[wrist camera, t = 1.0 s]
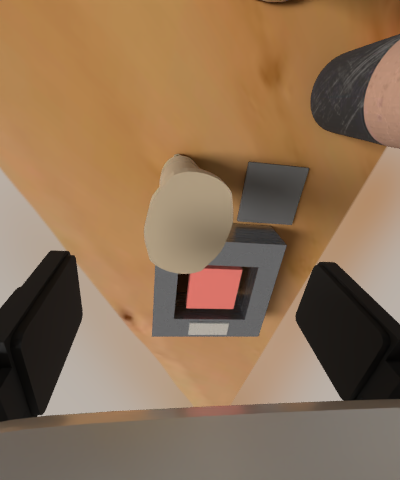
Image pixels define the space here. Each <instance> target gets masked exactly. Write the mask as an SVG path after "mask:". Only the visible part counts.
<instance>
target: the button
mask: <svg viewBox="0 0 400 480" xmlns="http://www.w3.org/2000/svg"><path fill="white" fill-rule="evenodd" d="M241 274H242V268H241V267H240V266H216V265H207V266H206V267H205V268H204V269H203V270H202V271H199V272H196V273H191V274H189V279H188V288H187V296H186V308H195V309H233V308H234V304H235V300H236V295H237V291H238V287H239V283H240V278H241Z"/></svg>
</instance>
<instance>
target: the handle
mask: <svg viewBox="0 0 400 480" xmlns="http://www.w3.org/2000/svg"><path fill="white" fill-rule="evenodd" d="M232 224H233V202H232V192H231V191H230V189H229V188H228V187H227V185H226V184H225V183H224V182H223V181H222V180H221V179H220V178H219V177H218V176H216V175H214V174H213V173H210V172H208V171H206V170H202V169H199V167H198V166H197V164H196V163H195V162H194V161H193V160H192V159H191V158H190V157H186V156H181V155H180V154H175V155H174V157H172V158H170V159H169V160H168V161H167V162H166V163H165V165H164V167H163V169H162V172H161V177H160V187H159V188H158V189H157V190H156V192H155V193H154V194H153V196H152V199H151V202H150V206H149V210H148V214H147V218H146V222H145V227H144V238H145V244H146V248H147V251H148V255H149V259H150V261H151V262H152V263H154V264H155V265H156V266H158V267H159V268H161V269H164V270H166V271H169V272H173V273H179V274H191V273H196V272H199V271H202V270H203V269H204V268H205V267H206V266H207V265H208V264H209V263H210V262H211V261H213V260H214V259H215V258H216V257H217V255H218V254H219V253H220V252H221V250H222V249H223V247H224V245H225V242H226V240H227V238H228V235H229V233H230V230H231V227H232Z"/></svg>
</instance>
